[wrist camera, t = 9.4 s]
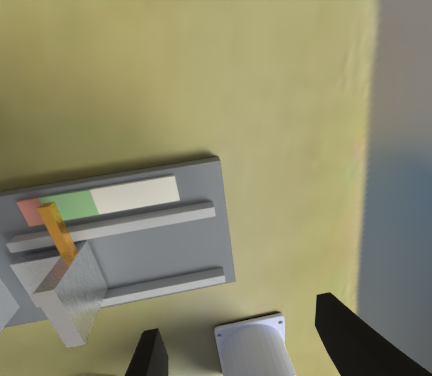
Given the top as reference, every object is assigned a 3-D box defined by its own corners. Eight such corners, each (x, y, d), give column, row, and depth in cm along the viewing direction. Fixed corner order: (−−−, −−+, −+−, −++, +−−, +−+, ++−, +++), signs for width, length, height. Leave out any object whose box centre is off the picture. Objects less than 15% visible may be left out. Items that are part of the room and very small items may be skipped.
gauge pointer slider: (107, 287, 19) (85, 344, 15) (45, 299, 19) (3, 361, 15) (66, 193, 16) (21, 232, 11) (-11, 206, 16) (-89, 251, 11)
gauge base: (233, 272, 22) (248, 330, 17) (14, 315, 21) (-46, 393, 16) (218, 156, 18) (232, 184, 12) (-67, 202, 16) (-193, 257, 11)
